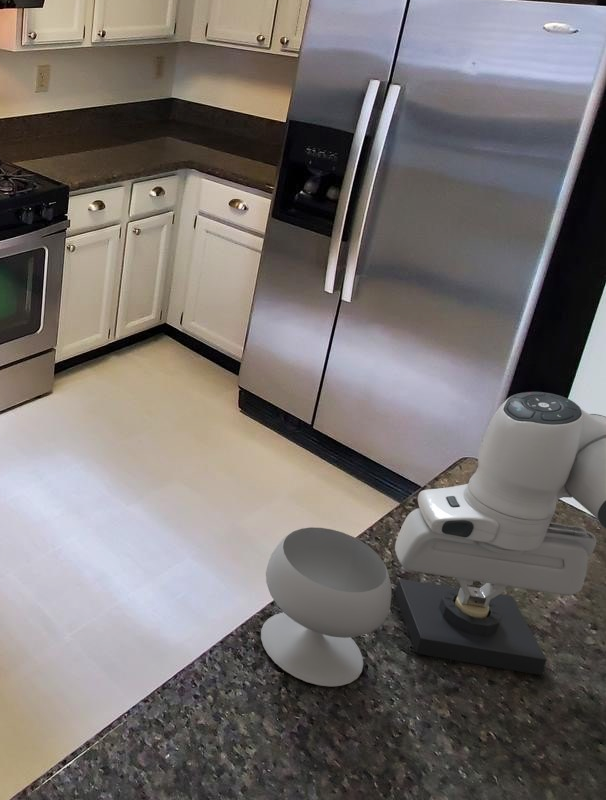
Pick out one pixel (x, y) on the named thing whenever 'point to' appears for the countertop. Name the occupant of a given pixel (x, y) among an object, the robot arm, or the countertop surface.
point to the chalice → (324, 604)
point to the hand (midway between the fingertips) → (471, 602)
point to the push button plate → (468, 629)
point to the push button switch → (472, 609)
